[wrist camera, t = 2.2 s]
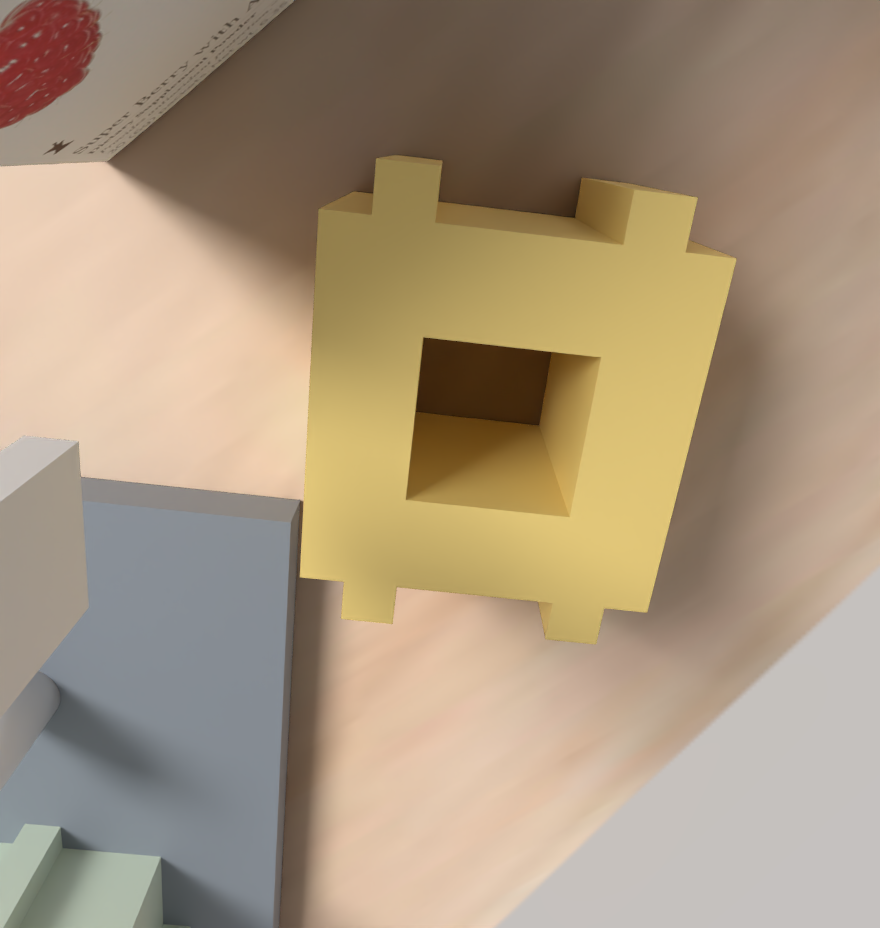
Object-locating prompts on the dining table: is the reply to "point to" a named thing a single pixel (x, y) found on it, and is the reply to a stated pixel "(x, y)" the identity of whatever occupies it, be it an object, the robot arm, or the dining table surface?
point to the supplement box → (107, 68)
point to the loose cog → (495, 442)
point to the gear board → (158, 722)
